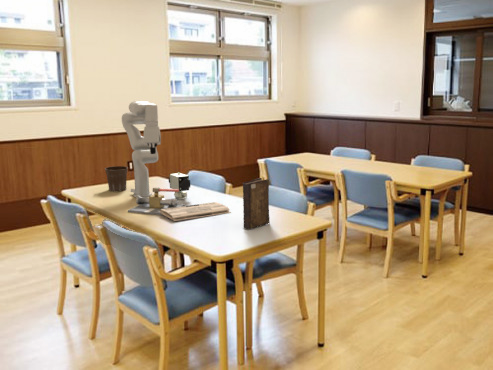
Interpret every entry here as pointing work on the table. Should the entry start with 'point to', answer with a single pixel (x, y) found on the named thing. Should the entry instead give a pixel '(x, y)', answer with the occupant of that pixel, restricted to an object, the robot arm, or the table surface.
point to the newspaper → (195, 211)
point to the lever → (165, 190)
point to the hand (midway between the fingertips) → (153, 153)
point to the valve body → (156, 201)
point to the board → (150, 209)
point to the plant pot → (116, 177)
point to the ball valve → (179, 184)
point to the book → (256, 203)
